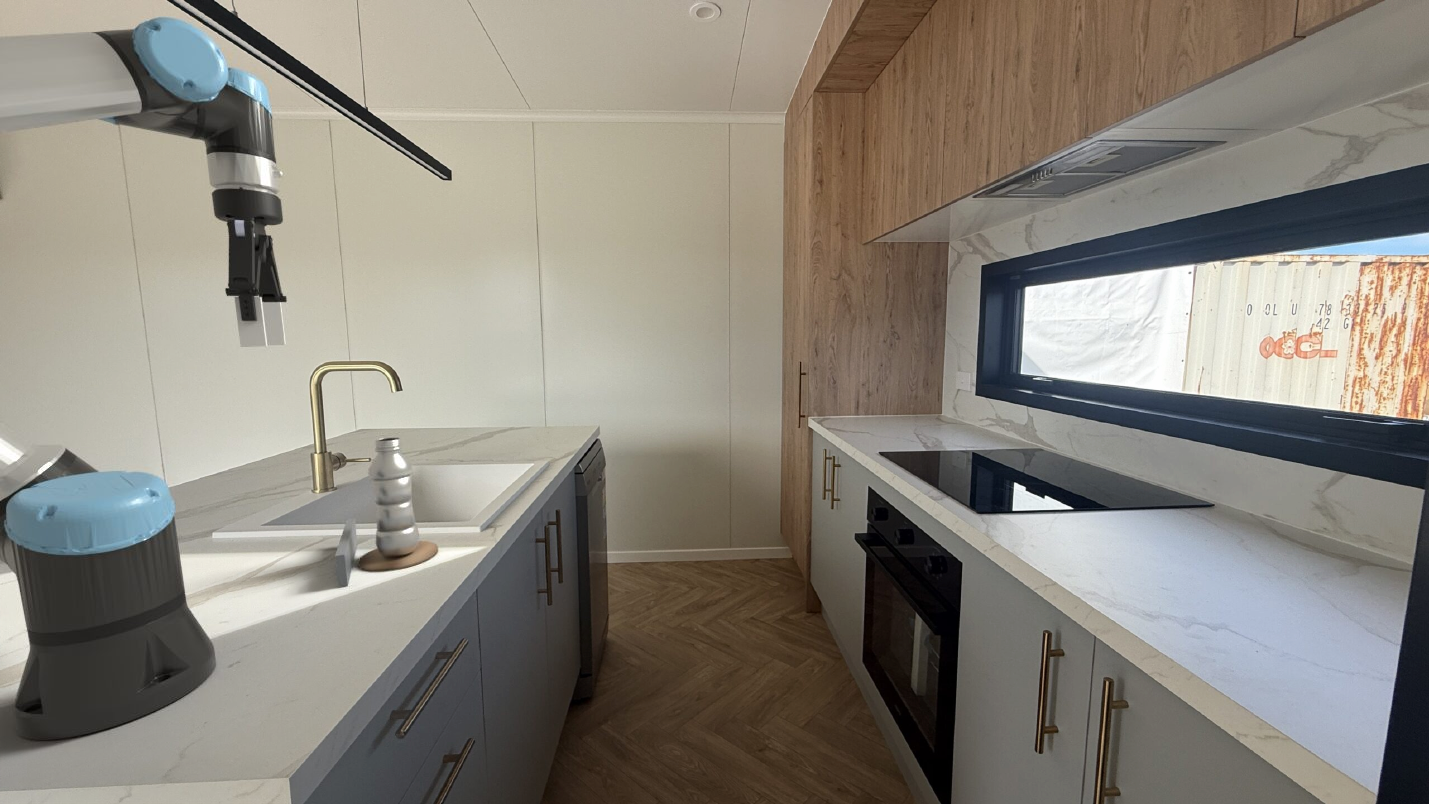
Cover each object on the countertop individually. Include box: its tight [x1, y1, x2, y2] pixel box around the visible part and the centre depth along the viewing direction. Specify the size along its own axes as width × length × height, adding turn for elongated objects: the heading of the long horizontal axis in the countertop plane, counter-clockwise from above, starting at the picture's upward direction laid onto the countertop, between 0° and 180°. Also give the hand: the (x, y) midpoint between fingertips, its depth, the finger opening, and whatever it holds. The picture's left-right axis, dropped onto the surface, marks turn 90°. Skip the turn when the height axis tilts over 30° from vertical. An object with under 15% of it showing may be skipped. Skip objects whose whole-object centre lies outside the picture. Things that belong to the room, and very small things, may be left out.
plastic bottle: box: [367, 436, 420, 557], centre depth 98 cm, size 6×7×20 cm
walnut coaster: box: [358, 540, 439, 572], centre depth 99 cm, size 12×12×1 cm
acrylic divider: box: [334, 517, 358, 588], centre depth 96 cm, size 1×20×5 cm, turn 28°
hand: (265, 346), depth 83 cm, fingers open, 13 cm apart
